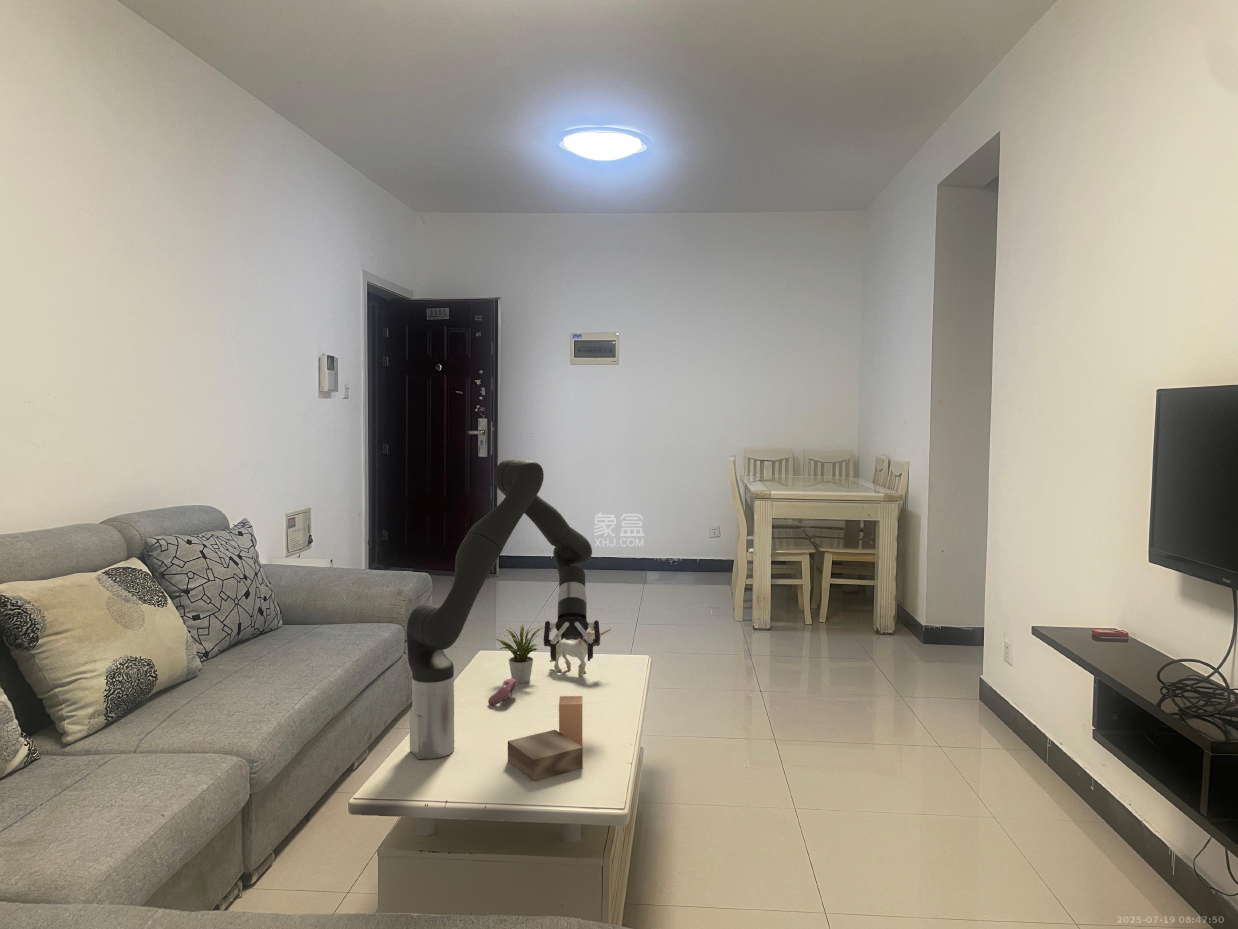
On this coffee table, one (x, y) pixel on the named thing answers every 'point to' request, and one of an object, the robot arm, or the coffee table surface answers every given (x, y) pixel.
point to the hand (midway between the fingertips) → (571, 659)
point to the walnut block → (545, 755)
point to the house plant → (520, 655)
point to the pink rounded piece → (503, 692)
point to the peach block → (571, 717)
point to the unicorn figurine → (573, 652)
